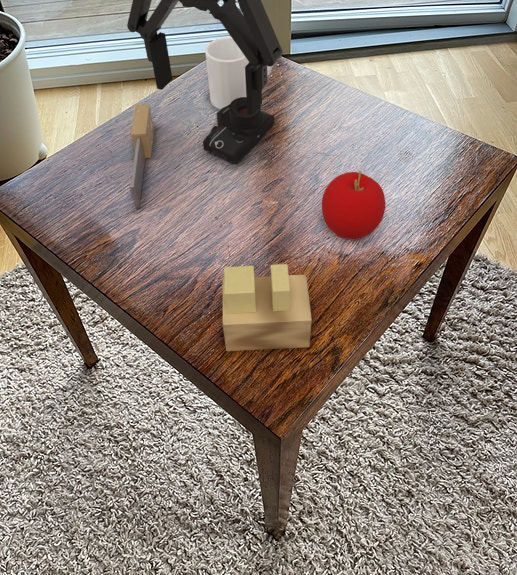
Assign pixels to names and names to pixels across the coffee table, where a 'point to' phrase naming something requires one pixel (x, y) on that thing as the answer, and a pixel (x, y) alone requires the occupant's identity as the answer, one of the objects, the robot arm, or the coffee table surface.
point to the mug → (226, 71)
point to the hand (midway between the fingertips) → (208, 96)
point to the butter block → (239, 289)
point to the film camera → (237, 131)
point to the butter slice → (280, 287)
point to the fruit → (353, 205)
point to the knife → (141, 147)
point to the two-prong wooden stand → (270, 319)
